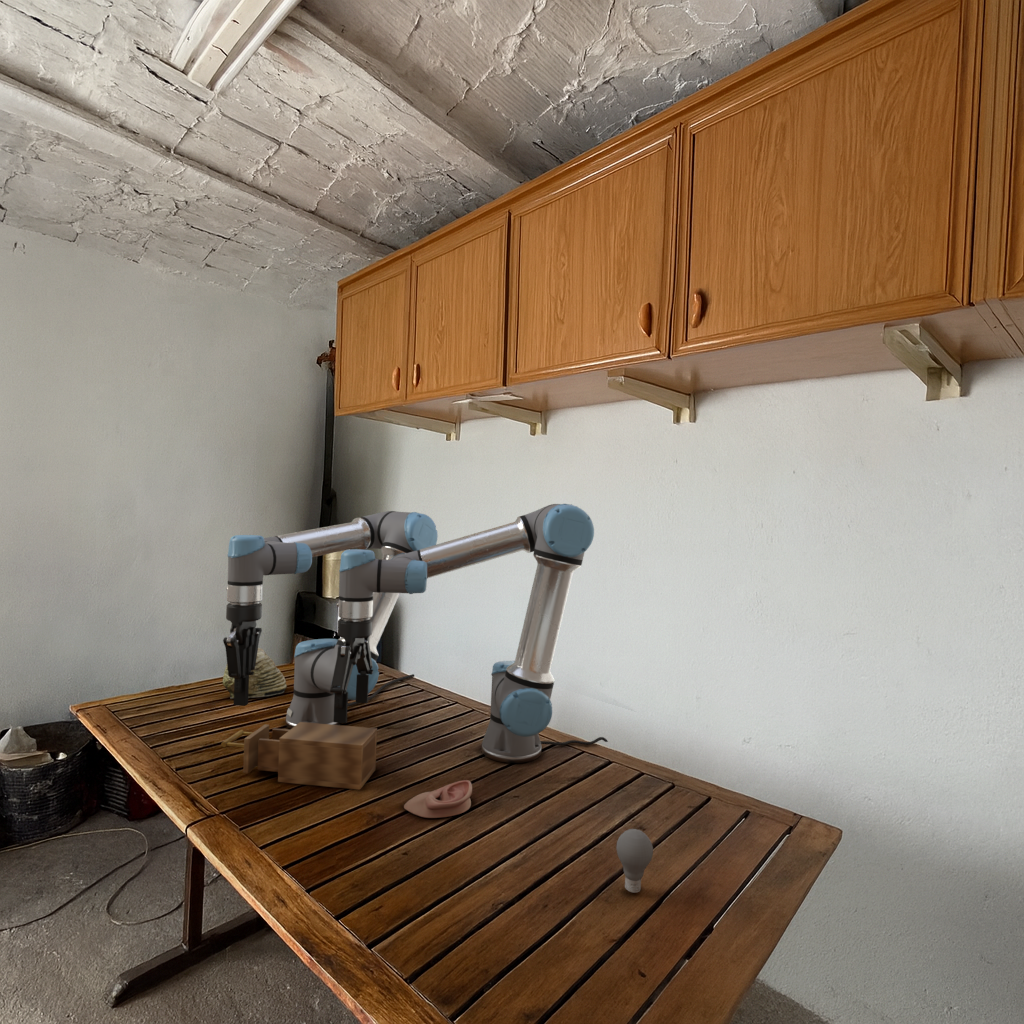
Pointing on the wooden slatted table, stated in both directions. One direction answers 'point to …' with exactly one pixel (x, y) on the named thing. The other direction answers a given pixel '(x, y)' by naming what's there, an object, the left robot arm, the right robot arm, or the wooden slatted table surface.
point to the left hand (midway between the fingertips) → (240, 704)
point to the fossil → (260, 678)
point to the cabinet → (327, 755)
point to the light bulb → (634, 857)
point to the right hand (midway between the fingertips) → (351, 712)
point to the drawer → (259, 748)
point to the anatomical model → (442, 801)
